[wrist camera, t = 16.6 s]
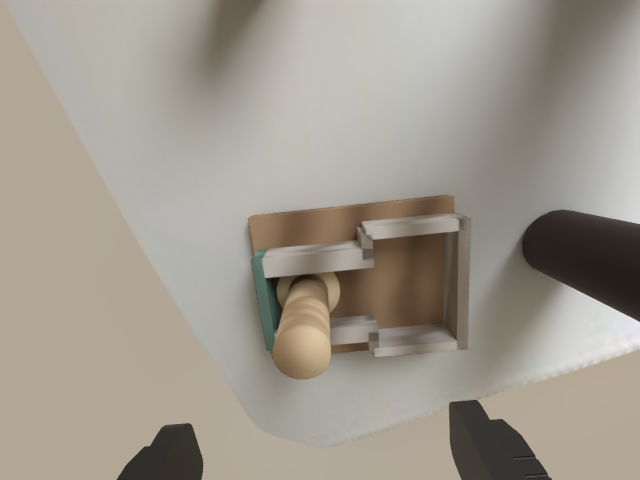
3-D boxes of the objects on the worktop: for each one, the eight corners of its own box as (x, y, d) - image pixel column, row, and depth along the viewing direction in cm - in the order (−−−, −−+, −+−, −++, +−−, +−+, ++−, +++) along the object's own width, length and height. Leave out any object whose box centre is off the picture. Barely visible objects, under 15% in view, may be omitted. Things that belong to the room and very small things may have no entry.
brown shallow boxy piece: (447, 194, 30) (470, 201, 25) (447, 334, 34) (467, 362, 29) (251, 215, 30) (238, 225, 26) (274, 350, 35) (266, 379, 30)
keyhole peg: (336, 256, 30) (344, 307, 19) (342, 312, 32) (352, 389, 21) (273, 262, 30) (247, 316, 20) (282, 318, 32) (262, 397, 21)
